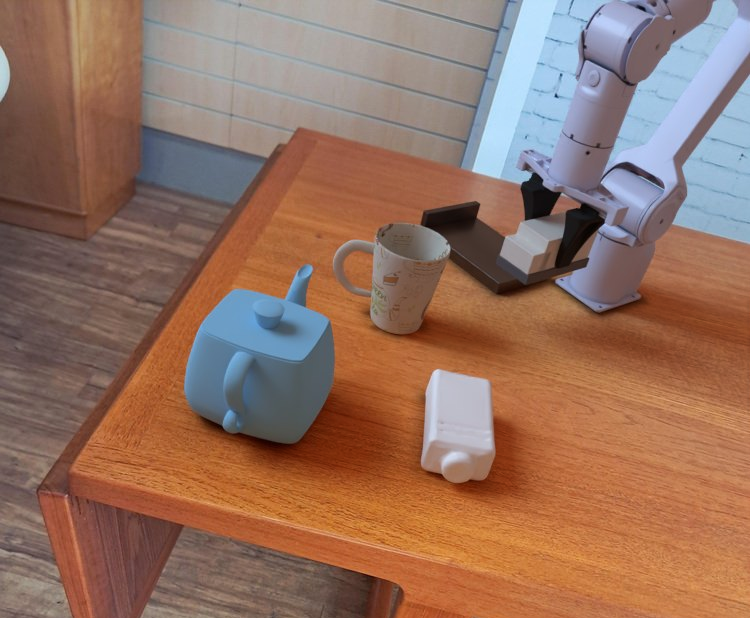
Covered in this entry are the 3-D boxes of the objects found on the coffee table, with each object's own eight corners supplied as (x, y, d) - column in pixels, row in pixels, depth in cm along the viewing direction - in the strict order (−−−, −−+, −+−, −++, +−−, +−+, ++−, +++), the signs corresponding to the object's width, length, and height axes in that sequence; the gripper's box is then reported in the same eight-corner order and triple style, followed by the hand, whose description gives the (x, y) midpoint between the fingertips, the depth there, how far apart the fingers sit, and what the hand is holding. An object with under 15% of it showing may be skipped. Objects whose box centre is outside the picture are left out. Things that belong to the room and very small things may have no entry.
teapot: (351, 371, 83) (370, 275, 75) (290, 477, 70) (305, 374, 62) (242, 335, 84) (249, 236, 76) (162, 433, 71) (161, 327, 63)
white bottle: (417, 483, 73) (428, 449, 70) (423, 398, 82) (432, 365, 79) (485, 496, 73) (498, 463, 70) (483, 411, 82) (495, 378, 79)
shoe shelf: (469, 223, 113) (475, 200, 111) (547, 279, 105) (556, 255, 103) (417, 234, 108) (423, 210, 105) (496, 294, 100) (504, 269, 98)
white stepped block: (556, 247, 97) (570, 209, 93) (586, 267, 94) (602, 228, 91) (495, 263, 91) (507, 223, 87) (525, 285, 88) (539, 244, 85)
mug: (424, 348, 88) (445, 268, 81) (317, 319, 89) (329, 237, 82) (434, 311, 94) (455, 234, 87) (334, 284, 95) (347, 205, 88)
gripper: (514, 112, 83) (479, 230, 93) (617, 171, 77) (568, 293, 86) (557, 107, 87) (519, 221, 97) (659, 163, 80) (608, 280, 90)
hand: (545, 254), depth 92 cm, fingers closed on white stepped block, 4 cm apart
